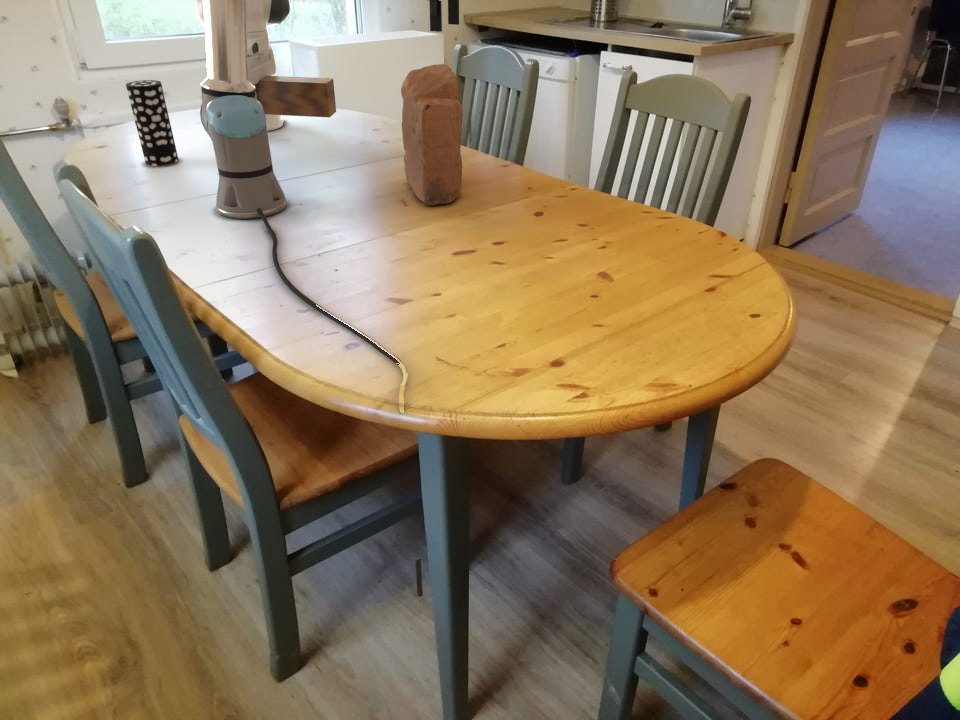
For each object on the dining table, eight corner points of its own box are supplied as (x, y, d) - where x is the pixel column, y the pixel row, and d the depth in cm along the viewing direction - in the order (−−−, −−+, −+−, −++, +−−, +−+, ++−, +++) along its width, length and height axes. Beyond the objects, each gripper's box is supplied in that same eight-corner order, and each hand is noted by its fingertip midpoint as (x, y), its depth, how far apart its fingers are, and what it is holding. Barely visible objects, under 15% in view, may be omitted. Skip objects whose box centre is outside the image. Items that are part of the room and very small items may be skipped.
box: (336, 111, 186) (333, 78, 181) (329, 117, 181) (326, 83, 176) (250, 107, 188) (245, 74, 183) (241, 113, 183) (236, 79, 178)
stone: (471, 203, 161) (470, 74, 147) (425, 208, 158) (419, 77, 144) (446, 179, 178) (443, 61, 164) (404, 183, 175) (396, 64, 161)
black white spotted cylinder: (184, 157, 190) (167, 80, 179) (169, 166, 183) (151, 87, 172) (155, 156, 190) (136, 79, 179) (139, 165, 183) (119, 86, 172)
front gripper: (445, -75, 170) (446, 21, 181) (408, -74, 149) (412, 33, 161) (474, -74, 168) (474, 22, 179) (441, -74, 148) (443, 35, 159)
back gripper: (254, 35, 185) (262, 90, 192) (223, 48, 168) (233, 107, 175) (277, 36, 184) (284, 90, 192) (248, 49, 167) (257, 108, 175)
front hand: (445, 27), depth 170 cm, fingers open, 13 cm apart
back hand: (259, 98), depth 183 cm, fingers closed on box, 6 cm apart
